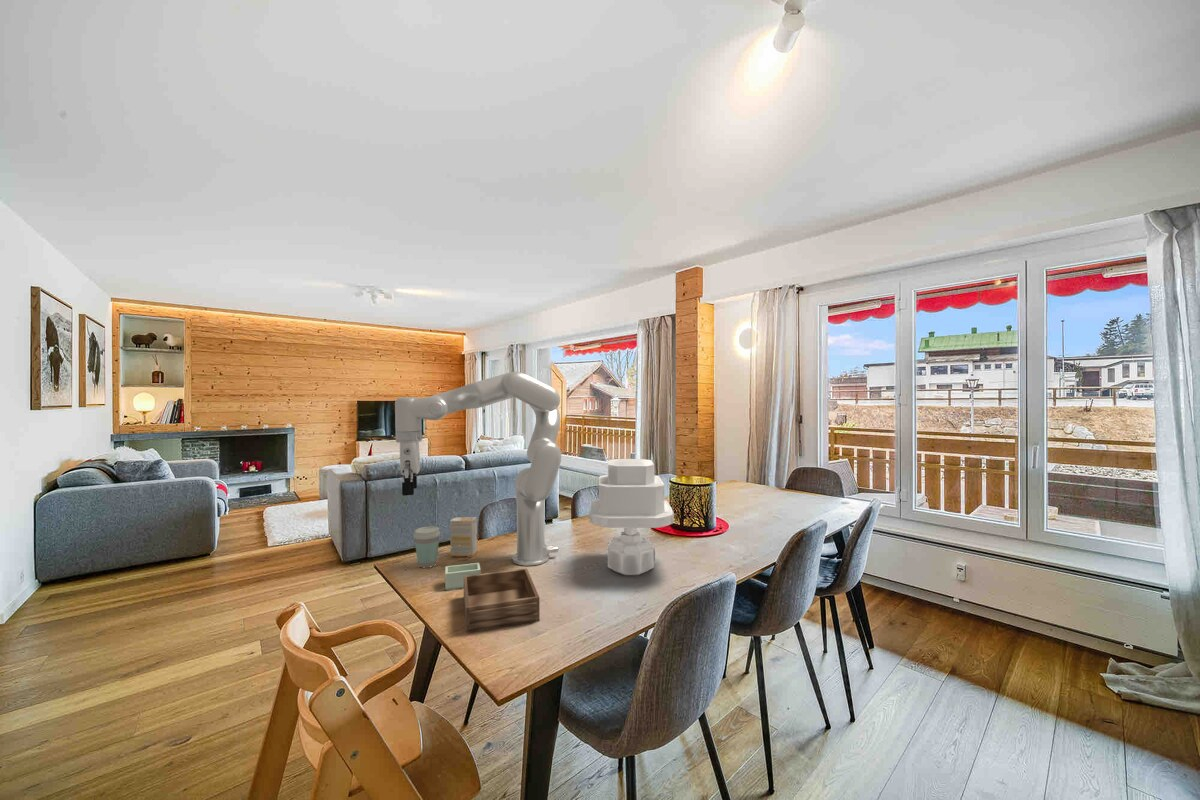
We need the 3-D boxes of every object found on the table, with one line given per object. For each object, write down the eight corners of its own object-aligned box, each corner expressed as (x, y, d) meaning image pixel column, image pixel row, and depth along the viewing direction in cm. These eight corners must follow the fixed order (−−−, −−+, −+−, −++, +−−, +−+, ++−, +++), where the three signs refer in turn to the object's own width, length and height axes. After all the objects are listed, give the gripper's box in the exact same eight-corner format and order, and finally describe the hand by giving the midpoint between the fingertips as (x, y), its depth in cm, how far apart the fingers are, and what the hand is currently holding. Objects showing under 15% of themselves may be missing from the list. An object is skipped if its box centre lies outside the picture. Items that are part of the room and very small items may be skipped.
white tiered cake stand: (676, 585, 138) (677, 469, 137) (588, 584, 138) (588, 469, 137) (665, 553, 164) (665, 456, 164) (591, 553, 165) (591, 456, 164)
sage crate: (479, 578, 143) (479, 562, 143) (480, 586, 137) (480, 569, 137) (445, 582, 140) (445, 566, 140) (445, 590, 134) (445, 573, 134)
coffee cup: (446, 562, 157) (445, 527, 157) (429, 571, 149) (428, 534, 149) (425, 559, 160) (425, 524, 159) (407, 568, 152) (407, 532, 151)
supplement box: (477, 552, 166) (477, 516, 165) (472, 557, 161) (472, 520, 161) (455, 552, 166) (455, 516, 166) (450, 557, 162) (449, 520, 161)
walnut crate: (527, 588, 136) (526, 568, 136) (540, 622, 116) (540, 598, 116) (463, 597, 130) (463, 576, 130) (466, 634, 110) (465, 609, 110)
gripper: (419, 439, 135) (420, 496, 135) (423, 433, 151) (424, 485, 152) (391, 440, 133) (392, 498, 133) (399, 434, 149) (400, 486, 150)
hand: (409, 491), depth 143 cm, fingers open, 9 cm apart
